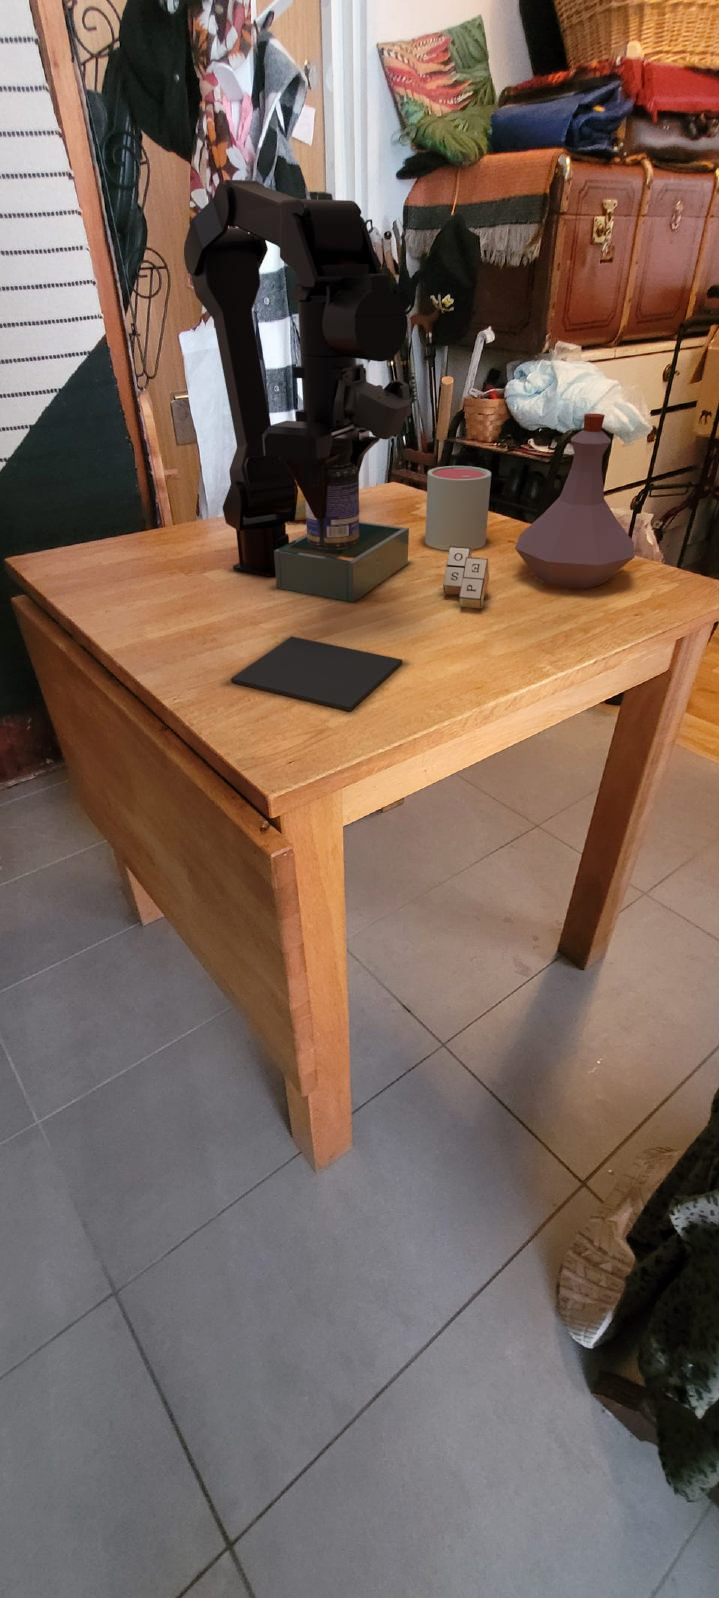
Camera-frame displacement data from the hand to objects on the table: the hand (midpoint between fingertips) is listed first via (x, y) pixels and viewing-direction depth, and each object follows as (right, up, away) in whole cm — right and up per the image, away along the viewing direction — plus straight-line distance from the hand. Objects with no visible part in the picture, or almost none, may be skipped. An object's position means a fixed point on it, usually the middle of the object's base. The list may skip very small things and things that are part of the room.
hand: (333, 511), depth 88 cm
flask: (+32, -3, +17) cm, 36 cm away
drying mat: (-1, -20, -6) cm, 21 cm away
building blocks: (+16, -7, +11) cm, 21 cm away
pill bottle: (0, -3, +2) cm, 4 cm away
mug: (+18, +8, +32) cm, 38 cm away
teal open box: (+1, -2, +18) cm, 19 cm away
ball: (-7, +14, +41) cm, 44 cm away
